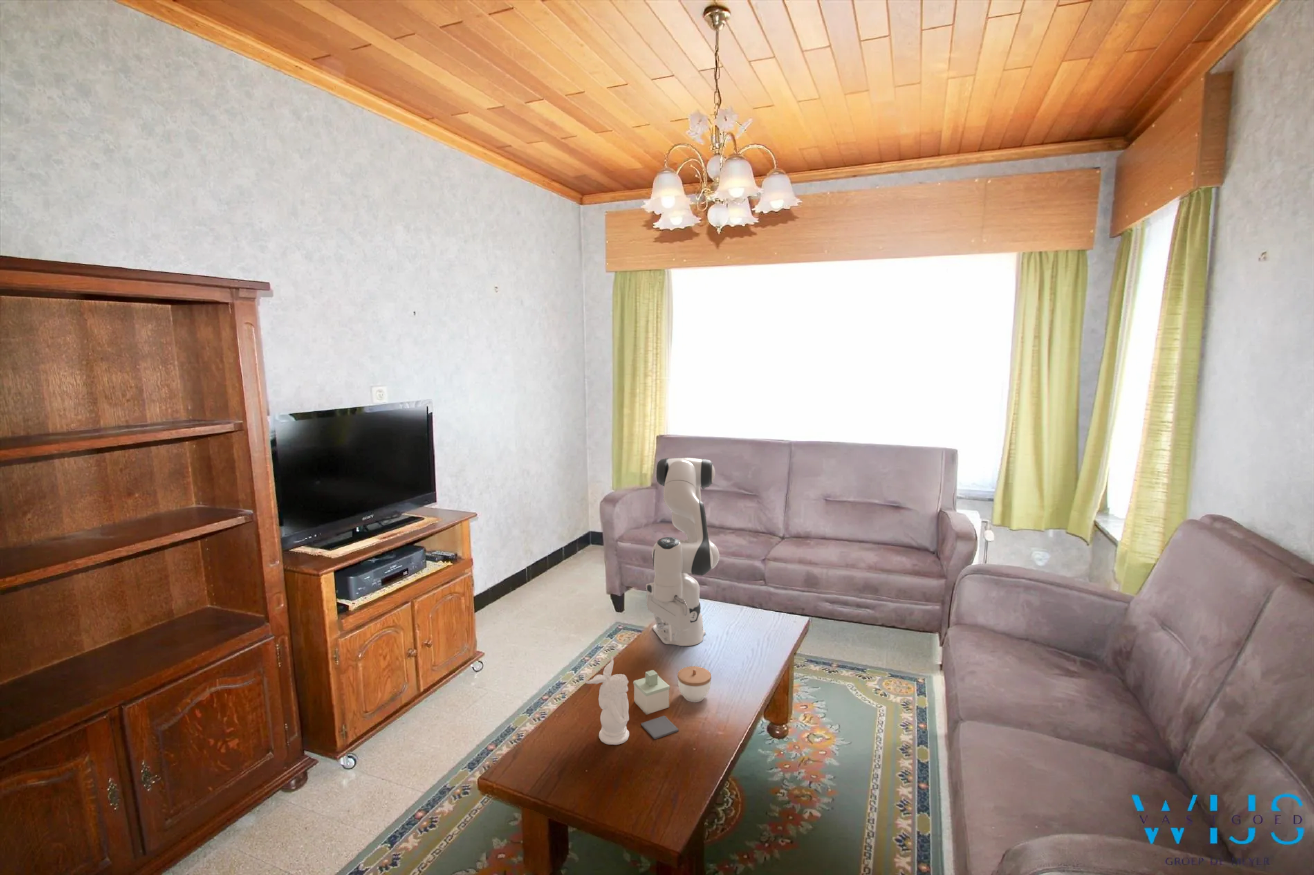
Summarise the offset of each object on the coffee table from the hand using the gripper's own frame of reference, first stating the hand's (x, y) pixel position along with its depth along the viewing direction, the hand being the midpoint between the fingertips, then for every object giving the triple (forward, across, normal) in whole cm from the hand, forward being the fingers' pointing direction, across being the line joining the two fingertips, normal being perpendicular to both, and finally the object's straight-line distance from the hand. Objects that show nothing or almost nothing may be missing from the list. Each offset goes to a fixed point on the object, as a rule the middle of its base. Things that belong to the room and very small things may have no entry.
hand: (667, 634), depth 190 cm
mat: (+23, -10, +9) cm, 27 cm away
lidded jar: (+23, -1, -9) cm, 25 cm away
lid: (+17, +2, +5) cm, 17 cm away
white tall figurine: (+23, -6, +24) cm, 34 cm away
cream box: (+23, +2, +5) cm, 23 cm away
